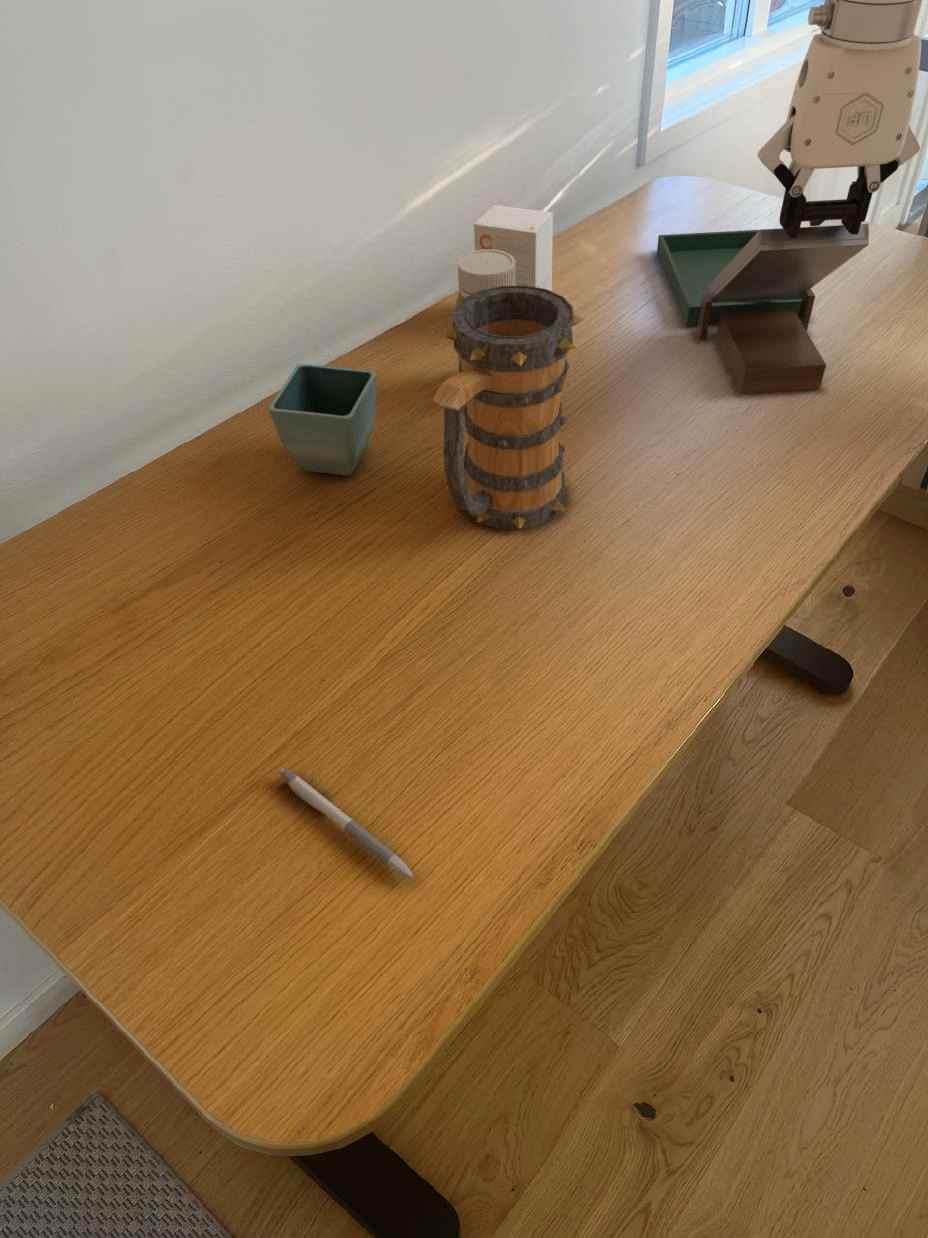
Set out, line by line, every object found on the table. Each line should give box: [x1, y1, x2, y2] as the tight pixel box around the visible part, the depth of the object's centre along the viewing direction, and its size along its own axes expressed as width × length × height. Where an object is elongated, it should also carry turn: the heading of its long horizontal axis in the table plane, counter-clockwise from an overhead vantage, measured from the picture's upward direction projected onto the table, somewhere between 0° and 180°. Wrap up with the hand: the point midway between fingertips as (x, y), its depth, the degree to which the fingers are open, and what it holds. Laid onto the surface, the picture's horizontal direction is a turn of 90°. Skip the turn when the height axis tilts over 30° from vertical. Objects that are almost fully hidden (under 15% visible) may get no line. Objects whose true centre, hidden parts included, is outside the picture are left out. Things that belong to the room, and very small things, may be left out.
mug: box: [432, 285, 586, 530], centre depth 85 cm, size 13×17×20 cm
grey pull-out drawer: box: [708, 198, 870, 303], centre depth 100 cm, size 24×11×3 cm
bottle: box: [455, 249, 515, 365], centre depth 102 cm, size 7×7×15 cm
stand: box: [696, 288, 827, 394], centre depth 108 cm, size 14×13×5 cm
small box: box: [473, 204, 554, 291], centre depth 114 cm, size 8×6×13 cm
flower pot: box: [268, 363, 377, 477], centre depth 95 cm, size 9×9×9 cm
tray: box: [656, 229, 803, 328], centre depth 122 cm, size 21×15×3 cm
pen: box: [278, 767, 414, 879], centre depth 66 cm, size 1×14×1 cm, turn 49°
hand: (819, 228), depth 91 cm, fingers closed on grey pull-out drawer, 5 cm apart
